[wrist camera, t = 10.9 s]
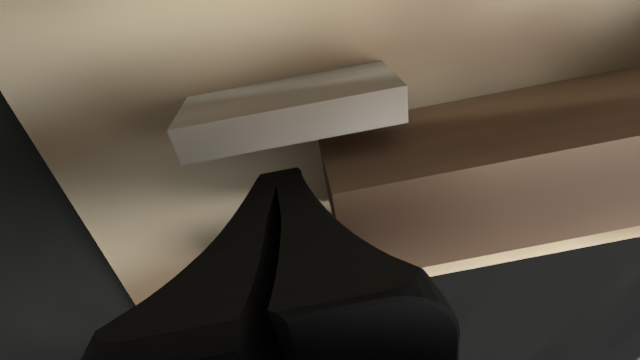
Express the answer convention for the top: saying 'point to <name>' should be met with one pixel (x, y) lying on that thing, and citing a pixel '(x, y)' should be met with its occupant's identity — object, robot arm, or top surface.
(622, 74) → the slat
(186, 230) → the slat board
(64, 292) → the top surface
